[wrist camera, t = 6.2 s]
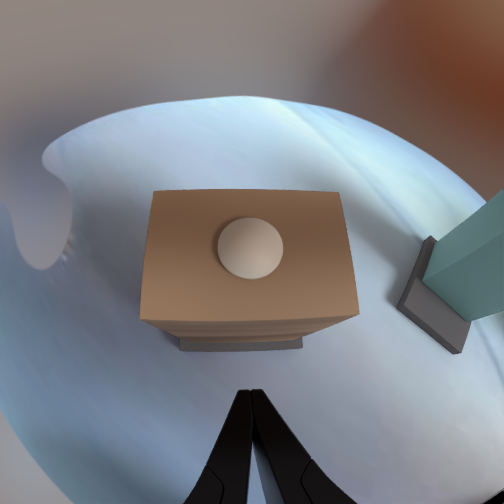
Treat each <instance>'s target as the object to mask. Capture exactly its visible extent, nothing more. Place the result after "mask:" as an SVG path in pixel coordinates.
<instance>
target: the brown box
mask: <svg viewBox="0 0 504 504" xmlns="http://www.w3.org/2000/svg"><path fill="white" fill-rule="evenodd" d="M356 315H359V305H358V297H357V290H356V282H355V275H354V269H353V263H352V256H351V251H350V245H349V239H348V234H347V229H346V224H345V219H344V214H343V209H342V204H341V200H340V195H339V193H337V192H320V191H298V190H265V189H198V190H165V191H154V193H153V199H152V205H151V211H150V218H149V225H148V232H147V240H146V248H145V257H144V266H143V277H142V289H141V304H140V319H141V320H143V321H145V322H147V323H149V324H151V325H153V326H155V327H157V328H159V329H161V330H163V331H165V332H168V333H170V334H172V335H174V336H176V337H179V338H181V339H183V340H185V341H188V342H210V343H226V342H267V341H287V340H294V339H297V338H300V337H303V336H306V335H308V334H311V333H314V332H316V331H319V330H322V329H324V328H327V327H329V326H332V325H334V324H337V323H339V322H342V321H344V320H347V319H349V318H351V317H354V316H356Z"/></svg>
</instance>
